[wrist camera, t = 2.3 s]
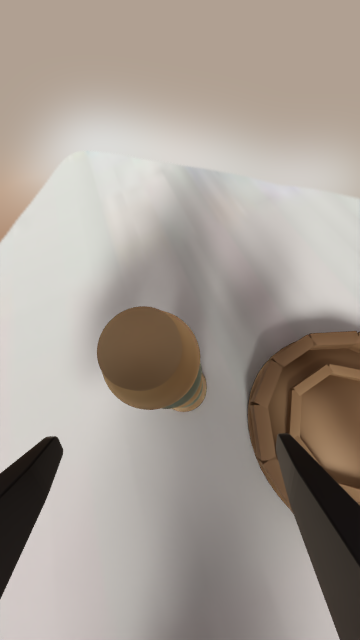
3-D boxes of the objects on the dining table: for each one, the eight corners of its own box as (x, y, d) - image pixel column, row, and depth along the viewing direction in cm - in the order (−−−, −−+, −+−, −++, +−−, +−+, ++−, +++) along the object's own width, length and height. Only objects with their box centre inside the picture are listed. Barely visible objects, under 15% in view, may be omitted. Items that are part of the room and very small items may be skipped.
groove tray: (347, 604, 13) (373, 642, 11) (212, 395, 19) (214, 393, 17) (505, 466, 15) (556, 476, 13) (340, 309, 20) (356, 298, 18)
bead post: (176, 421, 18) (102, 458, 5) (153, 379, 20) (52, 326, 7) (215, 394, 19) (240, 367, 6) (190, 356, 20) (164, 262, 7)
